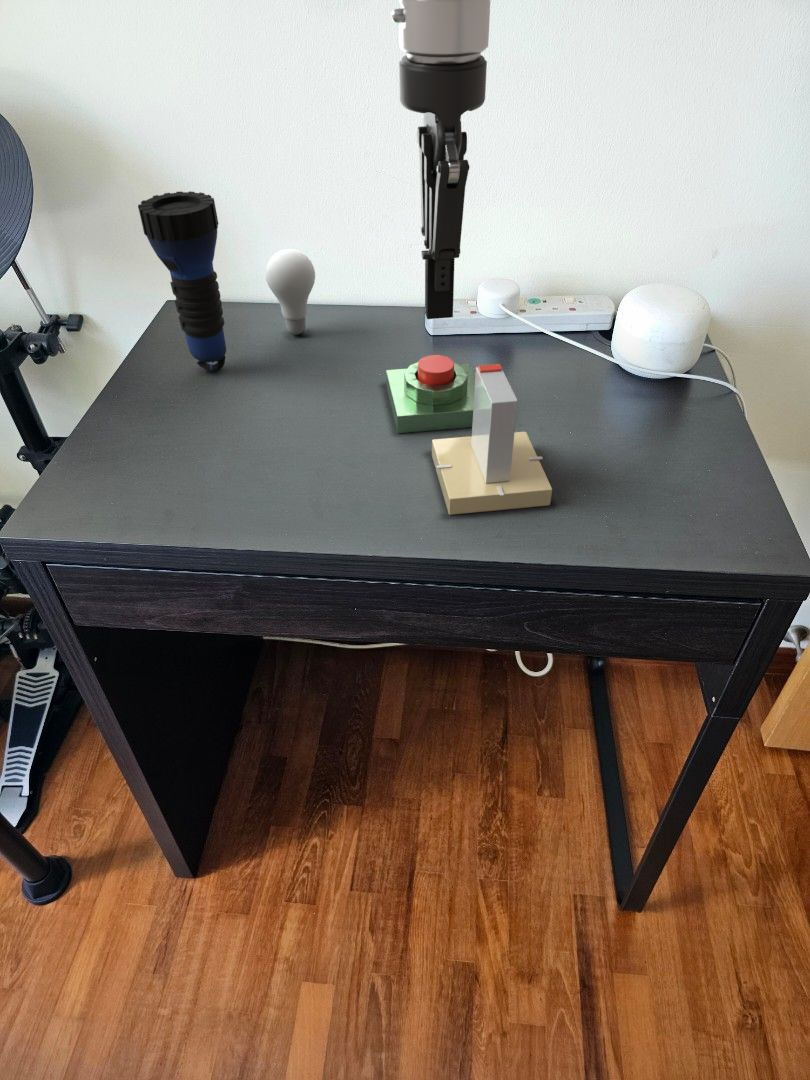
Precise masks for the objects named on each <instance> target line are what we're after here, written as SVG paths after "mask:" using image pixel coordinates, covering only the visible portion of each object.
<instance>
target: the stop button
mask: <svg viewBox="0 0 810 1080" xmlns="http://www.w3.org/2000/svg"><path fill="white" fill-rule="evenodd" d="M417 362H418V380H419V381H420V382H422V383H423V384H428V385H433V386H435V385H446V384H448V383H450V382H452V381H453V379H454V360H453V359H452V358H450V357H449V356H444V355H442V354H441V355H440V354H432V355H431V354H430V355H425V356H423V357H422V358H420V359H419V360H418V361H417Z"/></svg>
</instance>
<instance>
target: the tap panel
mask: <svg viewBox="0 0 810 1080" xmlns="http://www.w3.org/2000/svg"><path fill="white" fill-rule="evenodd" d="M471 441H472V435H471V436H469V435H468V436H461V437H460V436H456V437H446V438H435V439H434V438H433V439H431V457H432V460H433V461H432V462H433V464H434V468H435V472H436V475H437V478H438V481H439V485H440V489H441V492H442V495H443V499H444V503H445V506H446V510H447V513H448V515H449V516H452V515H462V514H472V513H473V514H474V513H483V512H484V513H485V512H493V511H494V512H495V511H504V510H516V509H526V508H535V507H546V506H551V501H552V495H553V488H552V486H551V483H550V481H549V479H548V477H547V475H546V472H545V470H544V468H543V466H542V463H541V462H540V460H542V461H543V459H544V458H543V456H542V455H540V456H538V455H537V453H536V450H535V449H534V446H533V444H532V442H531V439H530V438H529V435H528V433H527V431H515V433H514V443H513V453H512V463H511V472H510V481H504V482H494V483H485V480H484V477H483V475H482V472H481V470H480V467H479V464H478V462H477V459H476V456H475V454H474V451H473V448H472V446H471Z"/></svg>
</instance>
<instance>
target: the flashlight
mask: <svg viewBox="0 0 810 1080" xmlns="http://www.w3.org/2000/svg"><path fill="white" fill-rule="evenodd" d="M137 208H138V212H139V216H140V222H141V225H142V231H143V234H144V235H145V236H146V238H147V240H148V243H149V245H150V246H151V248H152V250H153V251H154V253H155V255H156V256H157V258H158V259H159V260H160V261H161V263H162V264H163V265H164V266H165V267H166V269H167V270H168V271H169V273H170V274H169V275H170V278H171V281H170V282H169V283H170V286H171V291H172V292H171V293H172V294H173V295H174V296H175V299H174V304H175V309H176V312H177V313H178V314H179V316H178V321H179V326H180V328H181V330H182V331H183V332H184V336H185V340H186V343H187V347H188V351H189V353H190V355H191V356H192V358H194V359H195V360H197V362H196V364H197V365H198V366H199V367H200V368H201V369H203V370H205V371H208V372H218V371H220V370H222V369H223V367H224V366H225V363H226V353H227V345H226V344H227V343H226V338H225V333H224V331H225V330H224V326H225V318H224V317H223V315H224V311H223V303H222V300H221V292H220V290H219V289H220V285H219V282H218V280H217V279H218V273H217V272H216V271H215V269H214V264H213V263H214V258H215V252H216V247H217V240H218V228H219V219H218V214H217V208H216V202H215V197H213V196H211V194H205V193H204V192H195V191H190V190H189V191H186V192H185V191H176V192H171V193H170V192H165V193H163V194H161V195H158V194H155V195H152V197H150V198H148V199H146V200H144V199H143V200H142V201H140V204H138V205H137ZM210 363H214V364H210Z"/></svg>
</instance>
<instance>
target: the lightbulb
mask: <svg viewBox="0 0 810 1080" xmlns="http://www.w3.org/2000/svg"><path fill="white" fill-rule="evenodd" d="M265 280H266V283H267V285H268V287H269V289H270V290H271V292H272V293H273V295H274V297H275V298H276V300H277V302H278V303H279V306H280V309H281V314H282V317H283V318H284V323H285V328H286V329H285V330H286V331H287V332H288V333H290V334H293V335H294V336H296V335H297V336H298V335H300V334H301V333H303V332H305V330H306V329H307V328H306V327H307V326H306V315H307V312H308V311H307V310H308V309H307V308H308V300H309V297H310V294H311V292H312V290H313V288H314V285H315V282H316V270H315V267H314V264H313V262H312V261H311V259H310V258H309V257H308V255H306V254H305V253H304V252H302V251H300V250H298V249H293V248H286V249H285V248H284V249H281V250H278V251H277V252H275V253H274V254H273V255H272V256H271V257H270V259H269V260H268V262H267V263H266V268H265Z"/></svg>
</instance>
